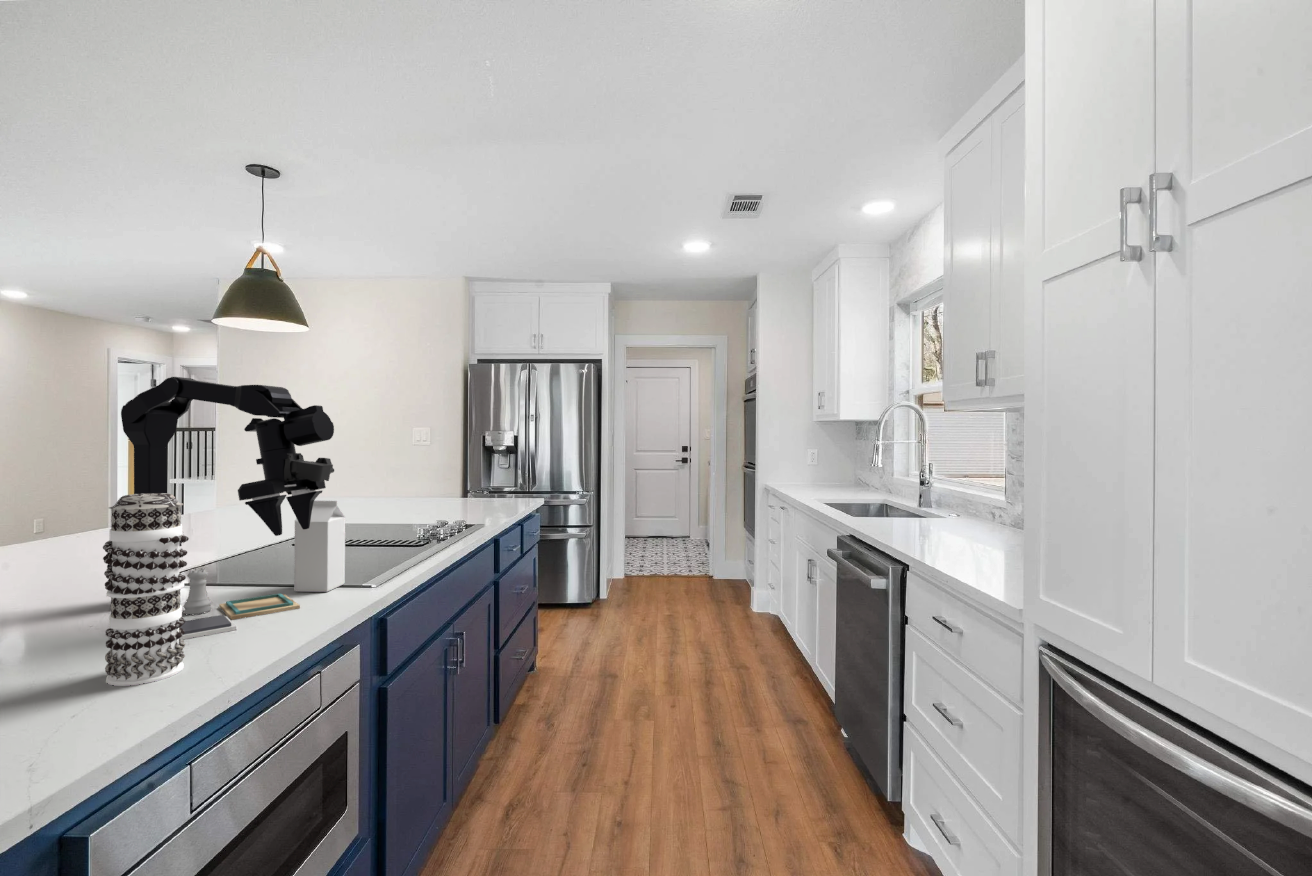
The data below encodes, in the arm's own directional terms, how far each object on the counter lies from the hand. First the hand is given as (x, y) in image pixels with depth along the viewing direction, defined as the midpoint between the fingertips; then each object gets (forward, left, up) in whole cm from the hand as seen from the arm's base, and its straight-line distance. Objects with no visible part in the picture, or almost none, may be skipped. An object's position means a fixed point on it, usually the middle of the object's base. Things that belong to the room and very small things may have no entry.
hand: (293, 532), depth 116 cm
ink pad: (+2, -14, -15) cm, 21 cm away
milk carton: (-15, +9, -15) cm, 23 cm away
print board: (-7, -4, -15) cm, 17 cm away
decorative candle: (+20, -23, -15) cm, 34 cm away
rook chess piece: (-11, -13, -15) cm, 23 cm away
